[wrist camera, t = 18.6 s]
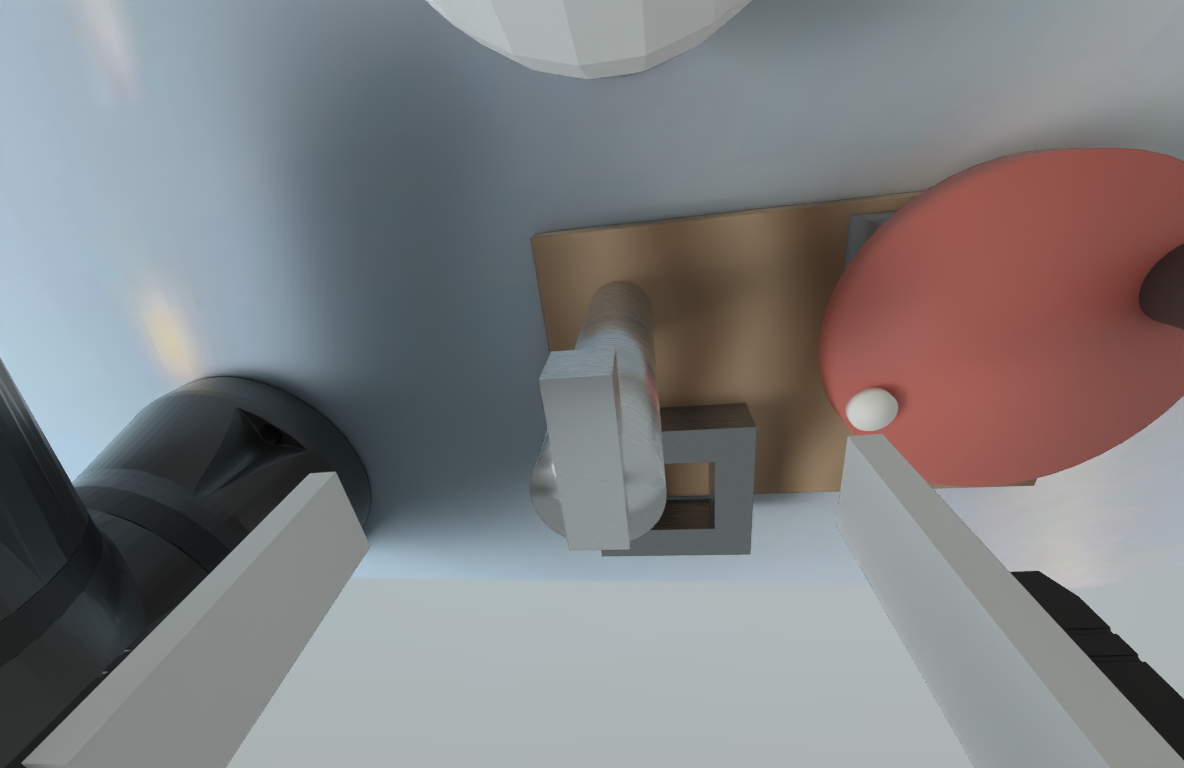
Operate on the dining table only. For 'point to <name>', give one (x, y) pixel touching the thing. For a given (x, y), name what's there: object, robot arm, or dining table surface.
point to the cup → (589, 31)
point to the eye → (728, 512)
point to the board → (730, 320)
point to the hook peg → (603, 428)
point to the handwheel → (1015, 316)
